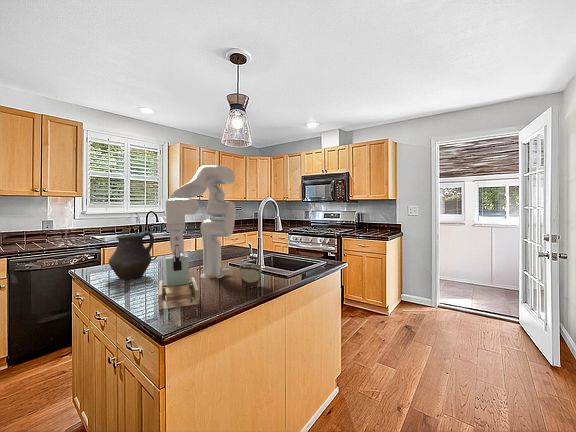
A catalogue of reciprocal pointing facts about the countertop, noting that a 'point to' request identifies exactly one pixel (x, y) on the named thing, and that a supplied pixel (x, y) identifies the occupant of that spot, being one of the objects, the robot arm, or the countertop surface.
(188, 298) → the offcut
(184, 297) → the offcut
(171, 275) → the pale green slab
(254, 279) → the food container
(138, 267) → the pitcher
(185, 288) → the offcut
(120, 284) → the countertop surface
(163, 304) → the rack
